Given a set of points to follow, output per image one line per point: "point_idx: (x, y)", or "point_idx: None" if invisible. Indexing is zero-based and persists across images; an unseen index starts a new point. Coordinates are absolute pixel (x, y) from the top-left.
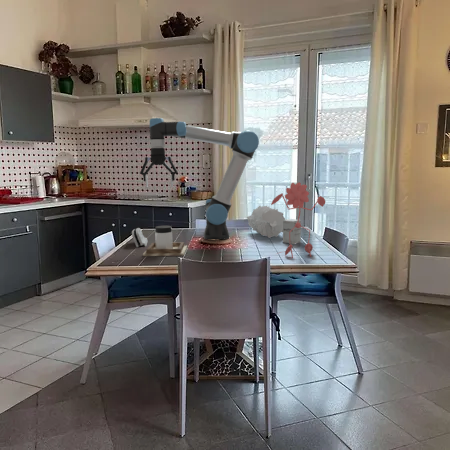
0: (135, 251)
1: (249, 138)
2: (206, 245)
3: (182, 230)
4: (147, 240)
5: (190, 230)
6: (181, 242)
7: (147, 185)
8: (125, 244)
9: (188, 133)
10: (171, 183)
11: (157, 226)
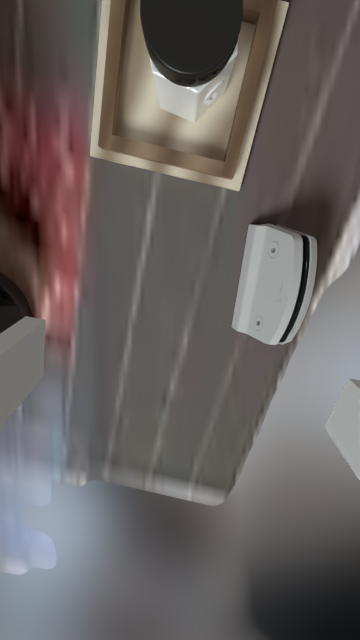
0: (300, 134)
1: None
2: (15, 173)
3: (107, 460)
4: (233, 325)
5: (81, 454)
6: (109, 142)
7: (356, 409)
8: (315, 287)
9: None
10: (6, 338)
11: (227, 40)
